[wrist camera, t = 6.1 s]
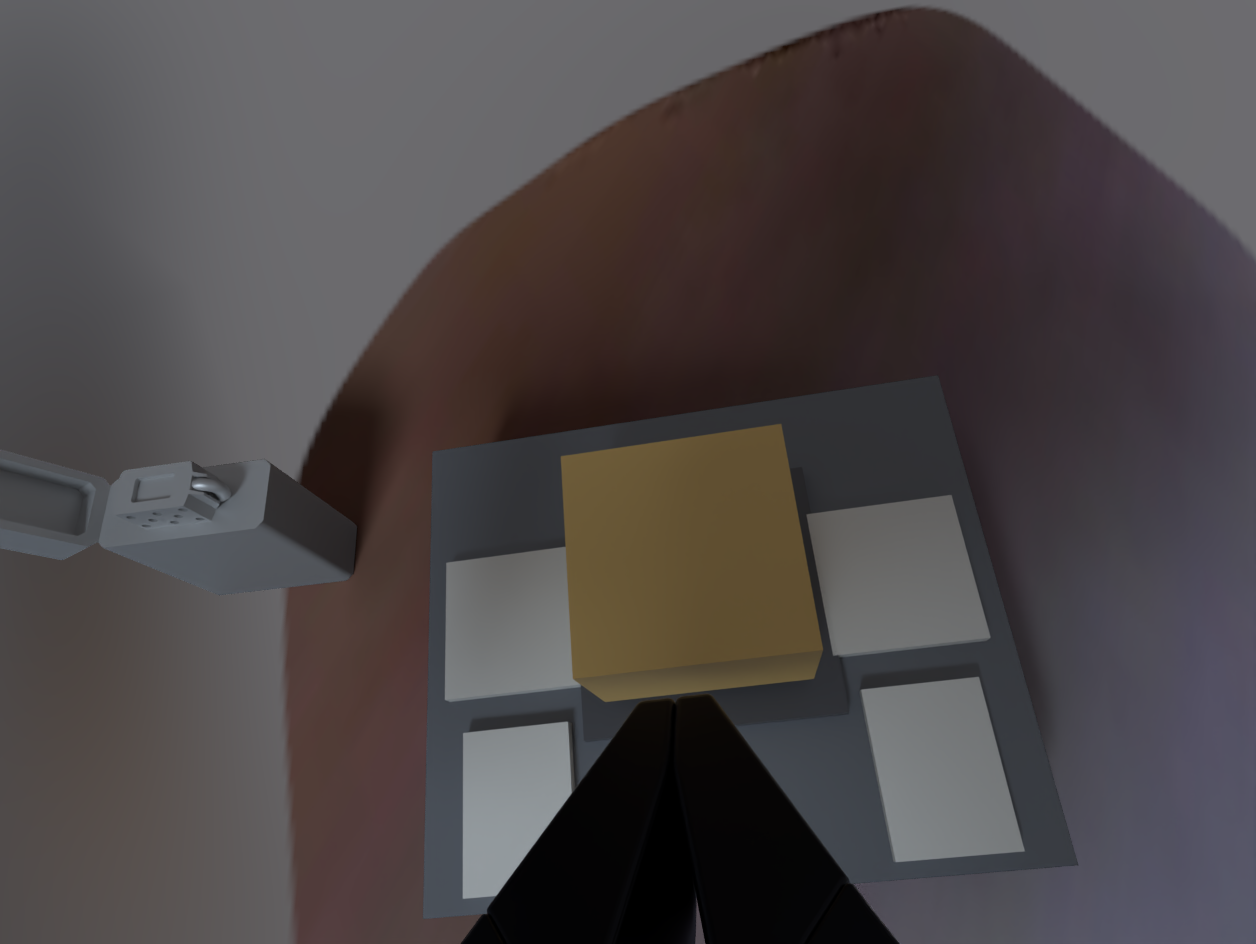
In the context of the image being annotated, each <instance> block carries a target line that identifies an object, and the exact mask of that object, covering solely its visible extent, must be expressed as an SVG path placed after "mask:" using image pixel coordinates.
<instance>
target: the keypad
mask: <svg viewBox="0 0 1256 944" xmlns="http://www.w3.org/2000/svg"><path fill="white" fill-rule="evenodd" d="M776 424H781V425H782V431H783V436H784V441H785V447H786V452H787V457H788V463H789V468H790V474H791V479H792V484H793V490H794V495H795V501H796V506H797V511H798V517H799V522H800V528H801V533H802V538H803V544H804V549H805V555H806V560H807V565H808V571H809V576H810V582H811V587H812V592H813V598H814V603H815V609H816V614H817V619H818V625H819V630H820V636H821V641H822V646H823V652H822V655H821V658H820V662H819V665H818V668H817V671H816V674H815V677H814V679H808V680H800V681H791V682H782V683H773V684H764V685H755V686H746V687H737V688H728V689H719V690H710V691H701V692H692V693H683V694H674V695H665V696H656V697H647V698H638V699H629V700H620V701H611V702H604V701H603V700H601V699H600V698H599V697H597V696H596V695H594V694H593V693H592V692H590V691H589V690H587V689H586V688H585V687H583V686H582V685H580V684H579V683H578V682H576V681H575V680H574V679H573V674H572V656H571V637H570V619H569V600H568V582H567V563H566V545H565V526H564V507H563V489H562V470H561V456H566V455H573V454H580V453H587V452H593V451H600V450H607V449H614V448H620V447H627V446H634V445H641V444H648V443H654V442H661V441H668V440H675V439H681V438H688V437H695V436H702V435H708V434H715V433H722V432H729V431H735V430H742V429H749V428H756V427H763V426H769V425H776ZM698 694H710V695H712V696H713V697H714V698H715V700H716V701H717V702H718V704H719V705H720V706H721V708H722V709H723V710H724V712H725V713H726V714H727V716H728V717H729V718H730V720H731V721H732V722H733V724H734V725H735V726H736V728H737V729H738V730H739V732H740V733H741V734H742V736H743V737H744V738H745V740H746V741H747V743H748V744H749V745H750V747H751V748H752V749H753V751H754V752H755V753H756V755H757V756H758V757H759V759H760V760H761V761H762V763H763V764H764V765H765V767H766V768H767V769H768V771H769V772H770V773H771V775H772V776H773V777H774V779H775V780H776V781H777V783H778V784H779V785H780V787H781V788H782V789H783V791H784V792H785V793H786V795H787V796H788V798H789V799H790V800H791V802H792V803H793V804H794V806H795V807H796V808H797V810H798V811H799V812H800V814H801V815H802V816H803V818H804V819H805V820H806V822H807V823H808V824H809V826H810V827H811V828H812V830H813V831H814V832H815V834H816V835H817V836H818V838H819V839H820V840H821V842H822V843H823V844H824V846H825V847H826V848H827V850H828V851H829V853H830V854H831V855H832V857H833V858H834V859H835V861H836V862H837V863H838V865H839V866H840V867H841V869H842V870H843V871H844V873H845V874H846V875H847V877H848V878H849V881H850V883H852V884H855V883H867V882H879V881H892V880H904V879H916V878H928V877H940V876H953V875H965V874H977V873H989V872H1001V871H1014V870H1026V869H1038V868H1050V867H1062V866H1075V865H1078V862H1077V859H1076V855H1075V852H1074V848H1073V845H1072V841H1071V838H1070V834H1069V831H1068V827H1067V824H1066V820H1065V817H1064V813H1063V810H1062V806H1061V803H1060V800H1059V796H1058V793H1057V789H1056V786H1055V782H1054V779H1053V775H1052V772H1051V768H1050V765H1049V761H1048V758H1047V754H1046V751H1045V747H1044V744H1043V740H1042V737H1041V733H1040V730H1039V726H1038V723H1037V719H1036V716H1035V712H1034V709H1033V705H1032V702H1031V698H1030V695H1029V691H1028V688H1027V684H1026V681H1025V677H1024V674H1023V670H1022V667H1021V663H1020V660H1019V656H1018V653H1017V649H1016V646H1015V642H1014V639H1013V635H1012V632H1011V628H1010V625H1009V621H1008V618H1007V614H1006V611H1005V607H1004V604H1003V600H1002V597H1001V593H1000V590H999V586H998V583H997V579H996V576H995V572H994V569H993V565H992V562H991V558H990V555H989V551H988V548H987V544H986V541H985V538H984V534H983V531H982V527H981V524H980V520H979V517H978V513H977V510H976V506H975V503H974V499H973V496H972V492H971V489H970V485H969V482H968V478H967V475H966V471H965V468H964V464H963V461H962V457H961V454H960V450H959V447H958V443H957V440H956V436H955V433H954V429H953V426H952V422H951V419H950V415H949V412H948V408H947V405H946V401H945V398H944V394H943V391H942V387H941V384H940V380H939V377H938V375H936V376H929V377H923V378H916V379H909V380H903V381H896V382H890V383H883V384H876V385H870V386H863V387H857V388H850V389H843V390H837V391H830V392H824V393H817V394H810V395H804V396H797V397H790V398H784V399H777V400H771V401H764V402H757V403H751V404H744V405H738V406H731V407H724V408H718V409H711V410H705V411H698V412H691V413H685V414H678V415H672V416H665V417H658V418H652V419H645V420H638V421H632V422H625V423H619V424H612V425H605V426H599V427H592V428H586V429H579V430H572V431H566V432H559V433H553V434H546V435H539V436H533V437H526V438H520V439H513V440H506V441H500V442H493V443H487V444H480V445H473V446H467V447H460V448H453V449H447V450H440V451H434V452H433V460H432V509H431V558H430V607H429V656H428V705H427V753H426V802H425V851H424V900H423V919H428V918H440V917H452V916H464V915H477V914H487V908H488V906H489V905H490V904H491V902H492V901H493V900H494V898H495V897H496V895H497V894H498V893H499V891H500V890H501V889H502V887H503V886H504V885H505V883H506V882H507V880H508V879H509V878H510V876H511V875H512V874H513V872H514V871H515V870H516V868H517V867H518V866H519V864H520V863H521V861H522V860H523V859H524V857H525V856H526V855H527V853H528V852H529V851H530V849H531V848H532V846H533V845H534V844H535V842H536V841H537V840H538V838H539V837H540V836H541V834H542V833H543V832H544V830H545V829H546V827H547V826H548V825H549V823H550V822H551V821H552V819H553V818H554V817H555V815H556V814H557V812H558V811H559V810H560V808H561V807H562V806H563V804H564V803H565V802H566V800H567V799H568V797H569V796H570V795H571V793H572V792H573V791H574V789H575V788H576V787H577V785H578V784H579V783H580V781H581V780H582V778H583V777H584V776H585V774H586V773H587V772H588V770H589V769H590V768H591V766H592V765H593V763H594V762H595V761H596V759H597V758H598V757H599V755H600V754H601V753H602V751H603V750H604V749H605V747H606V746H607V744H608V743H609V742H610V740H611V739H612V738H613V736H614V735H615V734H616V732H617V731H618V729H619V728H620V727H621V725H622V724H623V723H624V721H625V720H626V719H627V717H628V716H629V714H630V713H631V712H632V710H633V709H634V708H635V706H636V705H637V704H638V703H639V702H641V701H645V700H654V699H663V698H671V699H673V700H674V701H675V703H676V700H677V699H678V698H679V697H681V696H689V695H698Z"/></svg>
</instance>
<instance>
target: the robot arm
mask: <svg viewBox="0 0 1256 944" xmlns="http://www.w3.org/2000/svg"><path fill="white" fill-rule="evenodd" d="M696 897H697V902H698V907H699V913H700V918H701V923H702V928H703V933H704V939H705V944H900V943H899V942H898V941H897V940H896V938H895V937H894V936H893V935H892V933H891V932H890V931H889V930H888V928H887V927H886V926H885V925H884V923H883V922H882V921H881V920H880V919H879V917H878V916H877V915H876V914H875V912H874V911H873V910H872V908H871V907H870V906H869V904H868V903H867V902H866V900H865V899H864V898H863V896H862V895H861V893H860V892H859V891H858V889H857V888H856V887H855V886H854V885H853V884H852V883H850V881H849V878H848V877H847V875H846V874H845V873H844V871H843V870H842V869H841V867H840V866H839V865H838V863H837V862H836V861H835V859H834V858H833V857H832V855H831V854H830V853H829V851H828V850H827V848H826V847H825V846H824V844H823V843H822V842H821V840H820V839H819V838H818V836H817V835H816V834H815V832H814V831H813V830H812V828H811V827H810V826H809V824H808V823H807V822H806V820H805V819H804V818H803V816H802V815H801V814H800V812H799V811H798V810H797V808H796V807H795V806H794V804H793V803H792V802H791V800H790V799H789V798H788V796H787V795H786V793H785V792H784V791H783V789H782V788H781V787H780V785H779V784H778V783H777V781H776V780H775V779H774V777H773V776H772V775H771V773H770V772H769V771H768V769H767V768H766V767H765V765H764V764H763V763H762V761H761V760H760V759H759V757H758V756H757V755H756V753H755V752H754V751H753V749H752V748H751V747H750V745H749V744H748V743H747V741H746V740H745V738H744V737H743V736H742V734H741V733H740V732H739V730H738V729H737V728H736V726H735V725H734V724H733V722H732V721H731V720H730V718H729V717H728V716H727V714H726V713H725V712H724V710H723V709H722V708H721V706H720V705H719V704H718V702H717V701H716V700H715V698H714V697H713V696H712V695H710V694H698V695H689V696H681V697H679V698H678V699H677V700H676V703H675V701H674V700H673V699H671V698H663V699H654V700H645V701H641V702H639V703H638V704H637V705H636V706H635V708H634V709H633V710H632V712H631V713H630V714H629V716H628V717H627V719H626V720H625V721H624V723H623V724H622V725H621V727H620V728H619V729H618V731H617V732H616V734H615V735H614V736H613V738H612V739H611V740H610V742H609V743H608V744H607V746H606V747H605V749H604V750H603V751H602V753H601V754H600V755H599V757H598V758H597V759H596V761H595V762H594V763H593V765H592V766H591V768H590V769H589V770H588V772H587V773H586V774H585V776H584V777H583V778H582V780H581V781H580V783H579V784H578V785H577V787H576V788H575V789H574V791H573V792H572V793H571V795H570V796H569V797H568V799H567V800H566V802H565V803H564V804H563V806H562V807H561V808H560V810H559V811H558V812H557V814H556V815H555V817H554V818H553V819H552V821H551V822H550V823H549V825H548V826H547V827H546V829H545V830H544V832H543V833H542V834H541V836H540V837H539V838H538V840H537V841H536V842H535V844H534V845H533V846H532V848H531V849H530V851H529V852H528V853H527V855H526V856H525V857H524V859H523V860H522V861H521V863H520V864H519V866H518V867H517V868H516V870H515V871H514V872H513V874H512V875H511V876H510V878H509V879H508V880H507V882H506V883H505V885H504V886H503V887H502V889H501V890H500V891H499V893H498V894H497V895H496V897H495V898H494V900H493V901H492V902H491V904H490V905H489V906H488V908H487V914H483V915H482V916H481V917H480V918H479V919H478V921H477V922H476V924H475V925H474V926H473V928H472V929H471V930H470V932H469V933H468V934H467V936H466V937H465V938H464V940H463V941H462V943H461V944H695V937H696V904H697V903H696Z"/></svg>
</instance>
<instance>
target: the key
mask: <svg viewBox="0 0 1256 944" xmlns="http://www.w3.org/2000/svg"><path fill="white" fill-rule="evenodd" d="M561 470H562V489H563V507H564V526H565V545H566V563H567V582H568V600H569V619H570V637H571V656H572V674H573V679H574V680H575V681H576V682H578V683H579V684H580V685H582V686H583V687H585V688H586V689H587V690H589V691H590V692H592V693H593V694H594V695H596V696H597V697H599V698H600V699H601V700H603V701H604V702H611V701H620V700H629V699H638V698H647V697H656V696H665V695H674V694H683V693H692V692H701V691H710V690H719V689H728V688H737V687H746V686H755V685H764V684H773V683H782V682H791V681H800V680H808V679H814V677H815V674H816V671H817V668H818V665H819V662H820V658H821V655H822V652H823V646H822V641H821V636H820V630H819V625H818V619H817V614H816V609H815V603H814V598H813V592H812V587H811V582H810V576H809V571H808V565H807V560H806V555H805V549H804V544H803V538H802V533H801V528H800V522H799V517H798V511H797V506H796V501H795V495H794V490H793V484H792V479H791V474H790V468H789V463H788V457H787V452H786V447H785V441H784V436H783V431H782V425H781V424H776V425H769V426H763V427H756V428H749V429H742V430H735V431H729V432H722V433H715V434H708V435H702V436H695V437H688V438H681V439H675V440H668V441H661V442H654V443H648V444H641V445H634V446H627V447H620V448H614V449H607V450H600V451H593V452H587V453H580V454H573V455H566V456H561Z"/></svg>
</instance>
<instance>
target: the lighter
mask: <svg viewBox="0 0 1256 944" xmlns="http://www.w3.org/2000/svg"><path fill="white" fill-rule="evenodd" d="M356 534H357V526H356V525H355V524H354V523H353V522H352V521H351V520H349V519H348V518H347V517H345V516H344V515H342V514H341V513H340V512H338V511H337V510H335V509H334V508H333V507H331V506H330V505H328V504H327V503H326V502H324V501H323V500H321V499H320V498H319V497H317V496H316V495H314V494H313V493H312V492H310V491H309V490H307V489H306V488H305V487H303V486H302V485H300V484H299V483H298V482H296V481H295V480H293V479H292V478H291V477H289V476H288V475H286V474H285V473H283V472H282V471H281V470H279V469H278V468H277V467H275V466H274V465H272V464H271V463H269V462H268V461H267V460H265V459H261V460H253V461H247V462H239V463H232V464H225V465H217V466H210V467H203V468H202V467H200V466H199V465H197V464H195V463H194V462H192V461H188V462H181V463H174V464H166V465H160V466H152V467H145V468H138V469H130V470H124V471H123V473H122V474H121V475H120V479H118V480H116V481H115V482H114V483H113V484H112V485H111V486H110V485H109V484H108V483H107V481H106V480H105V478H103V477H99V476H96V475H92V474H88V473H85V472H81V471H77V470H74V469H70V468H66V467H63V466H59V465H55V464H52V463H48V462H45V461H41V460H37V459H34V458H30V457H26V456H23V455H19V454H15V453H11V452H8V451H5V450H1V449H0V548H3V549H8V550H13V551H18V552H24V553H29V554H34V555H39V556H44V557H49V558H54V559H59V560H63V559H65V558H67V557H69V556H71V555H73V554H75V553H77V552H79V551H81V550H83V549H85V548H87V547H89V546H91V545H93V544H95V543H96V542H98V543H99V544H100V545H101V546H102V547H103V548H105V549H107V550H110V551H112V552H114V553H117V554H119V555H122V556H125V557H127V558H129V559H132V560H134V561H137V562H139V563H142V564H144V565H146V566H149V567H151V568H154V569H156V570H159V571H161V572H164V573H166V574H168V575H171V576H173V577H176V578H178V579H181V580H184V581H186V582H188V583H190V584H193V585H195V586H198V587H200V588H203V589H205V590H208V591H210V592H213V593H215V594H218V595H226V594H234V593H243V592H251V591H260V590H269V589H277V588H286V587H294V586H303V585H312V584H320V583H329V582H337V581H346V580H348V579H349V578H350V577H351V576H352V574H353V572H354V559H355V546H356Z"/></svg>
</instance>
